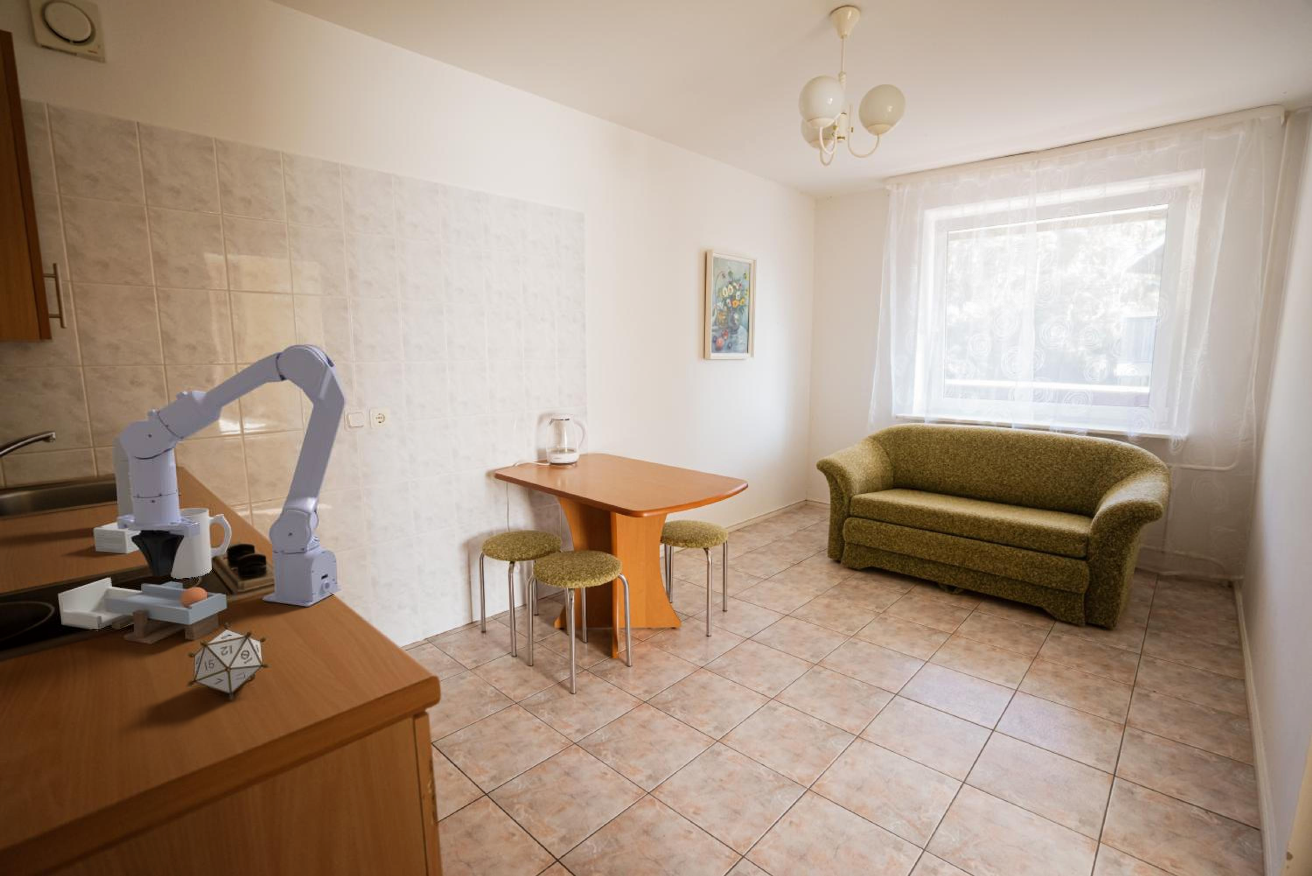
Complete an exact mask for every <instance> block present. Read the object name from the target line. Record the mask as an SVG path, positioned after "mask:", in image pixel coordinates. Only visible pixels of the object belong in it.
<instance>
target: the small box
mask: <svg viewBox="0 0 1312 876" xmlns="http://www.w3.org/2000/svg"><path fill="white" fill-rule="evenodd" d="M139 533H141V531H130V530H128V528H126V529H118V526H117V521H115V522H112V523H108V524H105V525H101V526H96V527H94V528H93V537H94V546H95V547H94V548H95V552H101V553H102V552H107V553H115V554H125V555H126V554H130V553H132V552H136V551H140V549H139V548H138V547H137V546H136V545H135V544H134V543H133V542H132V540H131V537H132V536H135V535H139Z"/></svg>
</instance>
